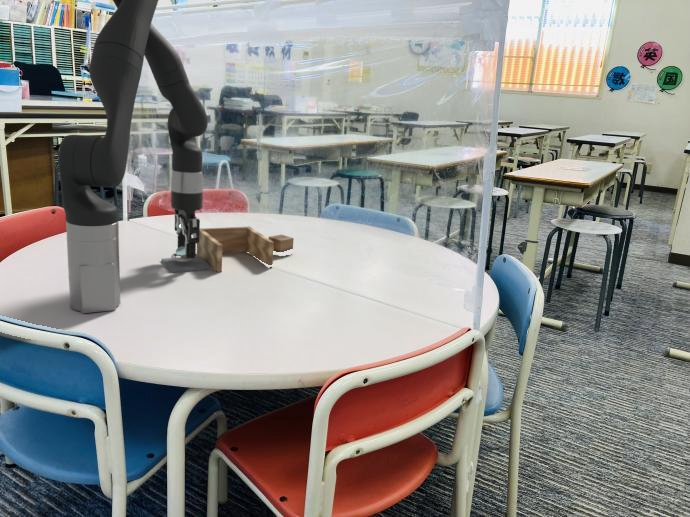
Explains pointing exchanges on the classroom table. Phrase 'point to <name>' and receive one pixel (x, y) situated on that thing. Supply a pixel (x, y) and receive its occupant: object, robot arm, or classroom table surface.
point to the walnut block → (282, 243)
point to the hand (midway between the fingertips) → (186, 253)
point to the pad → (186, 264)
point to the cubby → (233, 244)
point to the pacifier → (181, 254)
